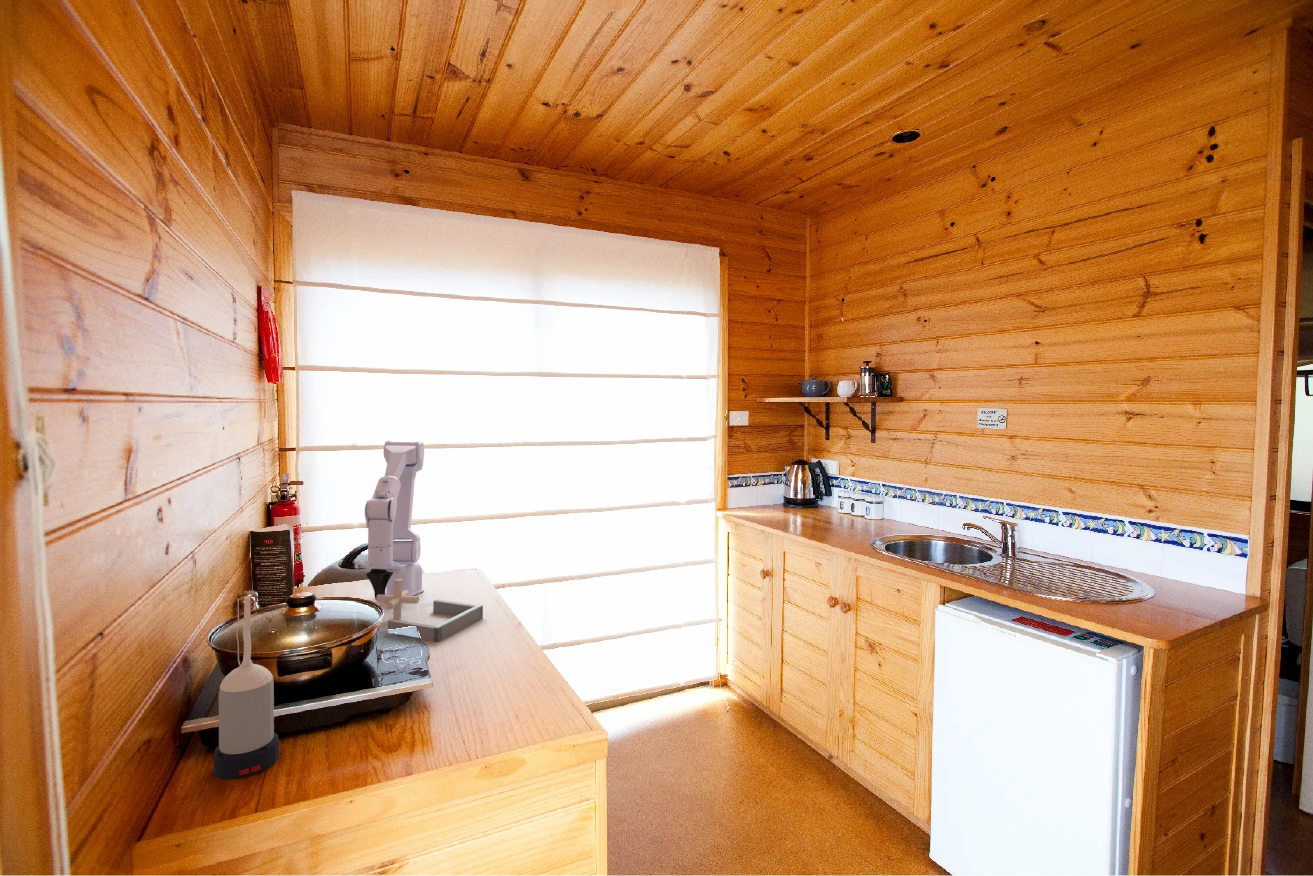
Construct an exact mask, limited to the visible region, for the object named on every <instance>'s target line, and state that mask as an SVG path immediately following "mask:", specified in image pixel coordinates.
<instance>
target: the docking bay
mask: <svg viewBox="0 0 1313 876" xmlns="http://www.w3.org/2000/svg"><path fill="white" fill-rule="evenodd" d="M432 603H433V605H432V606H433V607H432V612H433V613H435V614H436V613H437V614H443V615H449V616H452V617H451V618H449V619H447V620H445V621H443V622H441V623H439V624H437V625H431V624H425V623H424V624H423V623H418V622H412V621H406V620H401V619H400V620H394V619H393V618H391V619H388V620H387V630H388V629H396V628H402V627H408V626H416V627H417V629H418V631H419V633H420V636H421V638H422V639H421V640H425V641H430V642H431V641H432V642H437V643H438V642H440V641H443V640H444V639H446V638H448V637H450V636H452V635H453V634H455V633H457V632H459V631H460V630H462V629H464V628H467V627H468V626H470V625H472V624H474V623H476V622H478V621H480V620H481V619H483V618H484V613H483V612H484V605H483V604H470V603H465V602H464V603H463V602H458V601H457V602H454V601H449V600H441V599H435V600H433V602H432Z"/></svg>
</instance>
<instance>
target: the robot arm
mask: <svg viewBox="0 0 1313 876" xmlns="http://www.w3.org/2000/svg"><path fill="white" fill-rule="evenodd" d="M383 457H384V459H385V462H386V469H385V473H384V476H381V477H380V478H379V479H378V481H377V484H376V485H375V488H374V492H373V495H372V497H371V498H370V499H369V500H367V501H366V503H365V506H364V518H365V526H366V529H367V559H357V560H354V569H365V570H366V569H367V570H370V571H369V572H367V573H366V577H367V579H368V580H369V582H370V583H371V587H372V589H373V593H374V595H373V596H374V600H375V601H376V597H377V595H378V594H381V595H394V584H395V579H402V591H404V590H408V591H409V595H408V596H416V595H419V594H421V593H423V592H424V591H425V589H424V588H423V569H422V566H421V564H420V563H419V562H418V561H419V559H420V557H421V538H420V535H419V534H418V533H416V532H415V531H414V530H413V529H411V527H412V517H413V504H414V491H415V483H416V482H415V481H416V476H417V472H420V471H421V470H422V469H423V467H424V460H425V459H424V457H425V447H424V442H423V441H422V440H420V439H417V440H412V439H411V440H406V439H405V440H403V439H400V440H399V439H387V440H386V441H385V442H384V444H383Z"/></svg>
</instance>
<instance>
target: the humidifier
mask: <svg viewBox="0 0 1313 876" xmlns="http://www.w3.org/2000/svg"><path fill="white" fill-rule="evenodd" d="M243 598H244V601H243V603H244V606H243V610H244V611H243V627H242V638H243V657H242V662H241V663H240V647H239V646H240V645H239V642H240V641H239V637H238V636H239V635H238V632H239V629H240V616H239V615H240V614H239V613H240V612H239V611H240V609H239V608H240V605H239V599H237V624H238V625H237V630H236V640H237V662H238V665H239V666H238V667H236V668H234V669H233V670H231V671H230V672H229V673H228V674H227V675H226V676H225V677H224V678H223V679H222V680H221V683H220V685H219V691H218V746H216V748H215V749H214V753H213V758H212V764H213V765H212V767H213V769H212V770H213V774H214V776H215V777H217V779H221V780H230V781H231V780H240V779H243V778H248V777H251V776H254V775H256V774H257V775H258V774H259V773H262V772H265V771H266V770H268V769H269V768H271V767H273V766H274V765H275V764H277V762H278V760H279V759H280V739H279V735H278V734H277V733H276V732H274V731H275V724H274V723H275V722H274V721H275V716H274V715H275V712H274V711H275V710H274V709H275V705H274V704H275V703H274V702H275V696H274V694H275V693H274V692H275V691H274V690H275V689H274V686H275V685H274V683H275V682H274V681H275V680H274V675H273V674H272V673H271V671H270V670H269V669H268V668H266V667H264V665H260V664H257V663H256V664H255V663H253V660H252V659H251V657H252V639H251V637H252V636H251V631H250V630H251V596H250V595H249V596H244V597H243Z"/></svg>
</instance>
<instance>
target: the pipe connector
mask: <svg viewBox="0 0 1313 876" xmlns="http://www.w3.org/2000/svg"><path fill="white" fill-rule="evenodd" d="M408 595H409V591H408V590H404V591H402V579H395V584H394V595H381V594H378V595H377V597H376V600H375V601H376V602H377V603H379V602H380V603H385V608H386V609H387V610H389V611H390V610H393V616H392V617H393V618H392V619H394V620H400V621H401V619H402V606H403V605H402V604H414V605H416V604H419V602H420V597H419V596H416V595H413V596H408Z"/></svg>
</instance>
